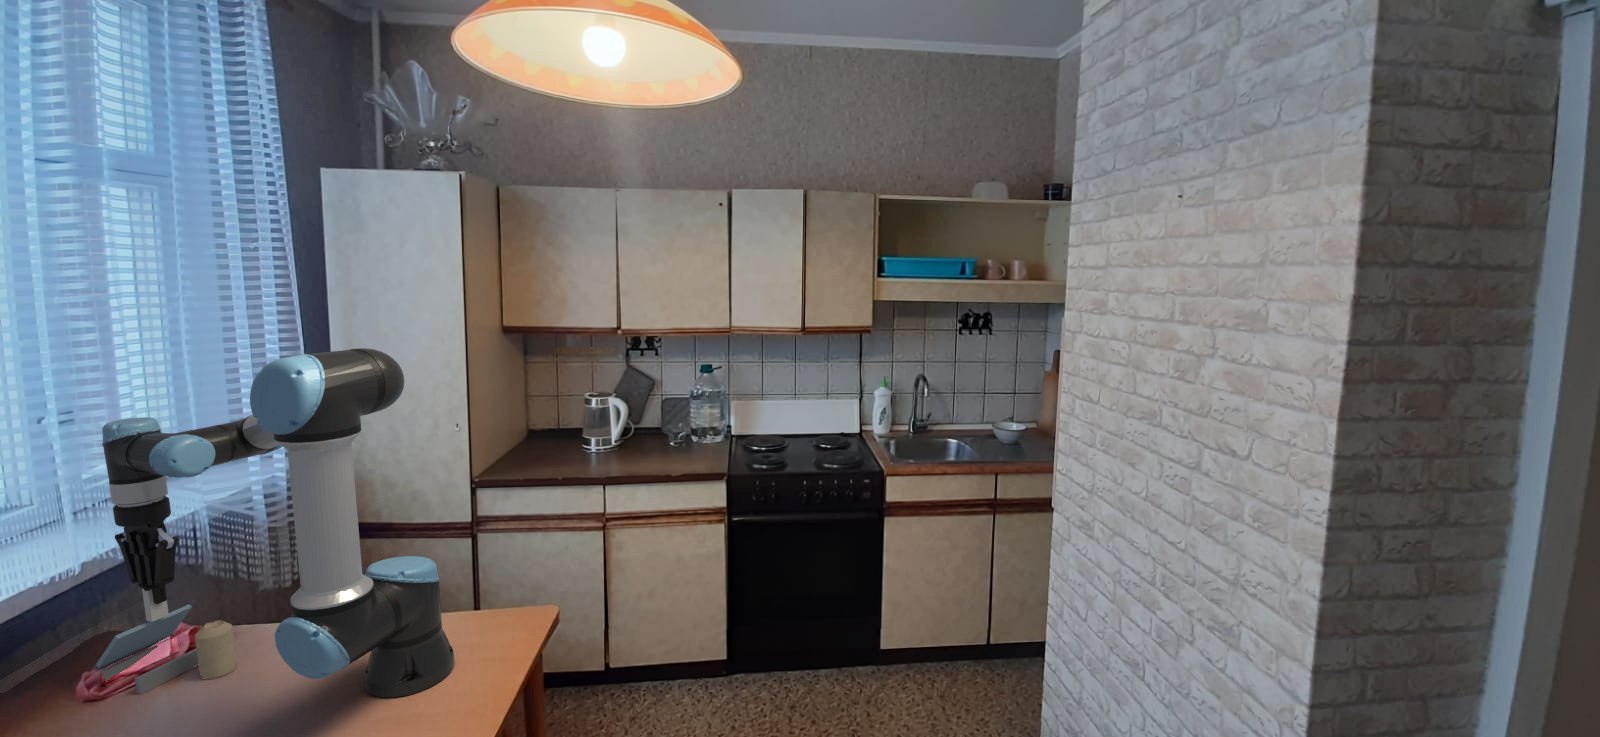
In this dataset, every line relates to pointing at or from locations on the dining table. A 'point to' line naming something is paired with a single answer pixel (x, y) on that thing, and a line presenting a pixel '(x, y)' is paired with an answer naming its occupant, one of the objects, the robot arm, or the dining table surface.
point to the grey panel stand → (155, 675)
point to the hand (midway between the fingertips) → (157, 617)
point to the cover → (141, 637)
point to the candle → (216, 649)
